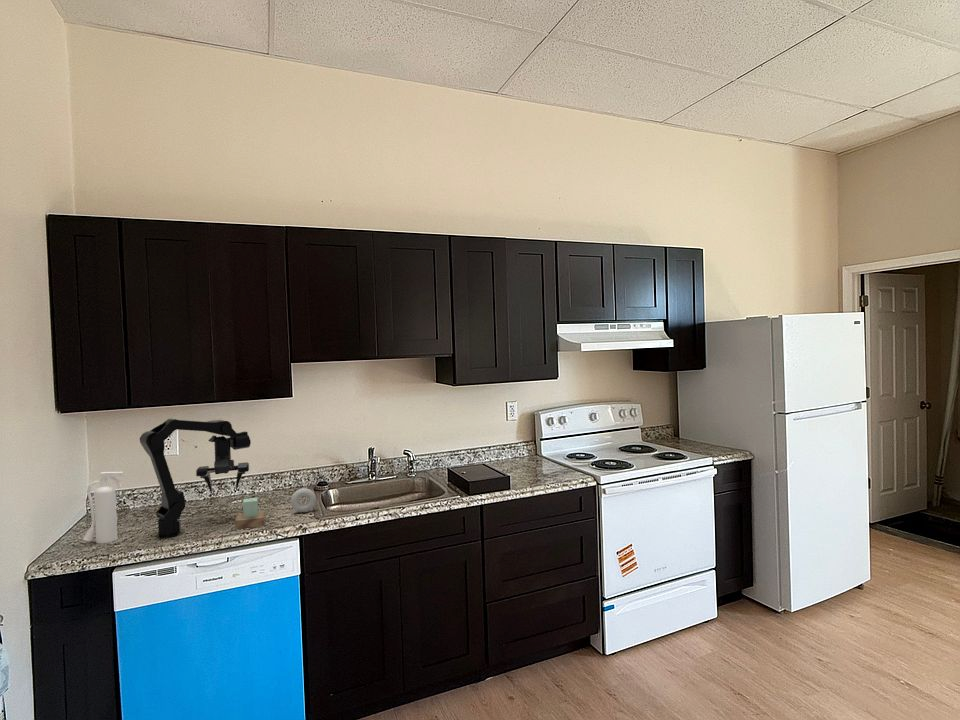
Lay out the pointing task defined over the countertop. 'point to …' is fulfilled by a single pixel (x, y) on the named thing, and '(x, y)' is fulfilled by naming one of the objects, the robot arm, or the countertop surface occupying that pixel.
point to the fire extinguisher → (103, 509)
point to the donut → (306, 506)
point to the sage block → (250, 507)
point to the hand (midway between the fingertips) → (224, 490)
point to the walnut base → (250, 521)
